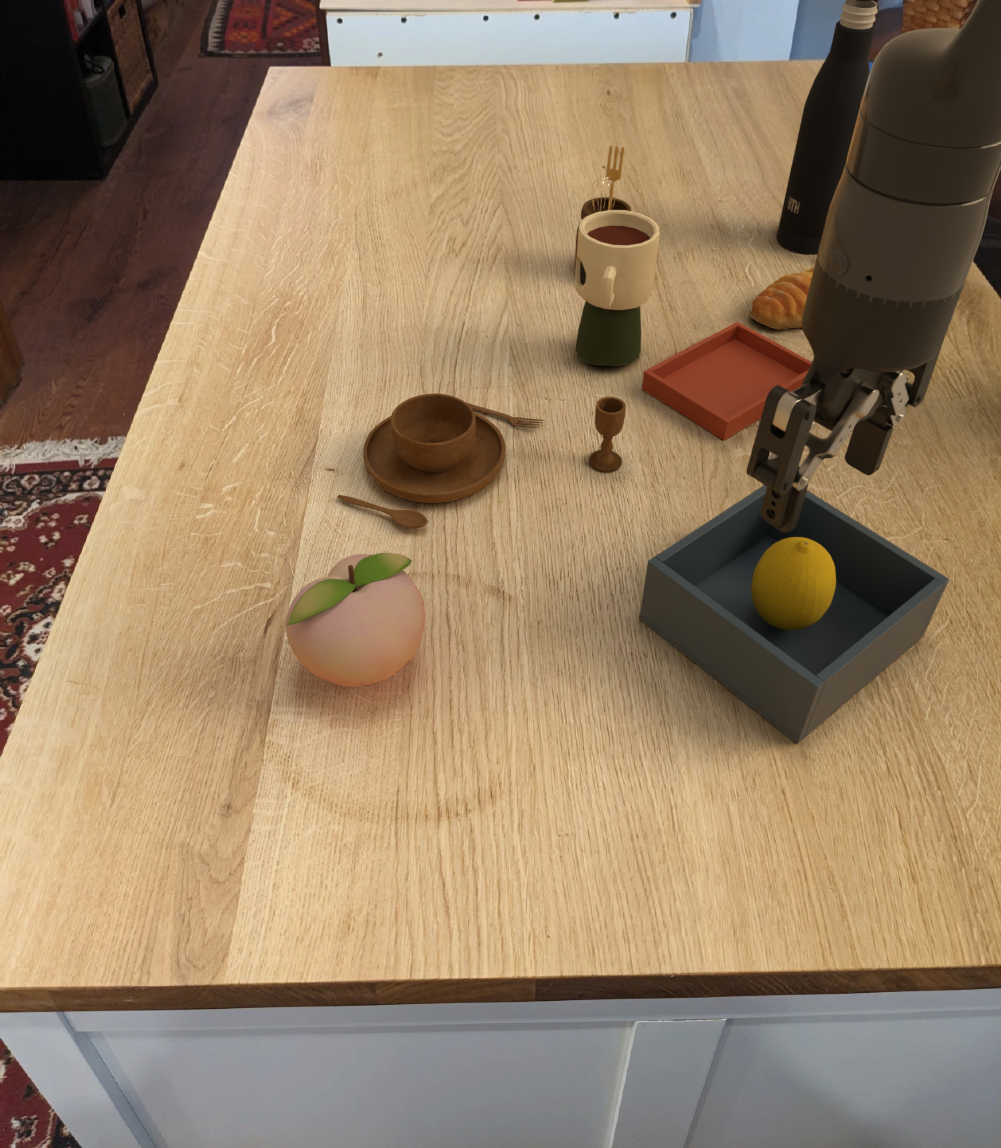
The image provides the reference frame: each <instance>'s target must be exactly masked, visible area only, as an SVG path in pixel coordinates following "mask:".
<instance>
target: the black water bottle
mask: <svg viewBox="0 0 1001 1148" xmlns="http://www.w3.org/2000/svg"><path fill="white" fill-rule="evenodd" d="M841 11H842V13H841V14H840V15H839V19H840V20H838V21H837V22H836V23H835V28H834V30H833V31H834V32H833V35H832V40H831V45H830V50H829V53H828V54H827V56H826V57H825V59H824V61H823V62H822V65H821V67H820V68H819V70H818V72H817V74H816V76H815V78H814V79H813V82H812V84H811V87H810V89H809V92H808V94H807V97H806V99H805V102H804V106H803V110H802V115H801V120H800V124H799V128H798V134H797V138H796V144H795V149H794V151H793V152H794V153H793V157H792V162H791V167H790V171H789V176H788V180H787V185H786V190H785V193H784V194H785V195H784V199H783V204H782V209H781V213H780V218H779V223H778V227H777V232H776V240H777V242H778V244H779V245H780V246H782V247H783V248H785V249H787V250H789V251H791V252H794V253H798V254H804V255H805V254H806V255H817V254H818V250H819V246H820V242H821V238H822V234H823V230H824V226H825V222H826V218H827V215H828V211H829V208H830V204H831V202H832V199H833V196H834V193H835V191H836V188H837V186H838V184H839V181H840V179H841V176H842V174H843V170H844V167H845V164H846V161H847V156H848V152H849V148H850V144H851V140H852V136H853V132H854V128H855V124H856V120H857V117H858V113H859V109H860V105H861V101H862V98H863V94H864V91H865V87H866V84H867V80H868V77H869V73H870V71H871V69H870V59H869V57H870V52H871V48H872V45H873V40H874V37H875V33H876V25H875V24H874V23H875V21H876V15H877V14H878V3H877V2H876V1H875V0H845V1H844V4H843V5H842V6H841Z"/></svg>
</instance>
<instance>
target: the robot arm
mask: <svg viewBox="0 0 1001 1148" xmlns="http://www.w3.org/2000/svg"><path fill="white" fill-rule="evenodd" d="M873 60H874V61H873V62H872V65H871V68H870V73H869V77H868V80H867V84H866V87H865V91H864V94H863V98H862V101H861V105H860V109H859V113H858V117H857V120H856V124H855V128H854V132H853V136H852V140H851V144H850V148H849V152H848V156H847V161H846V164H845V167H844V170H843V174H842V176H841V179H840V181H839V184H838V186H837V188H836V191H835V193H834V196H833V199H832V202H831V204H830V208H829V211H828V215H827V218H826V222H825V226H824V230H823V234H822V238H821V242H820V246H819V250H818V254H816V259H815V263H814V266H813V267H814V271H813V275H812V279H811V283H810V287H809V291H808V295H807V299H806V303H805V307H804V311H803V315H802V332H803V333H804V334H803V335H804V336H805V338H806V340H807V341H808V343H809V346H810V348H811V350H812V353H813V359H812V360H811V362H812V363H811V366H810V368H809V370H808V372H807V374H806V375H805V377H804V379H803V382H802V385H801V387H799V388H797V389H796V390H794V391H792V392H790V391H789V390H787V389H785V388H783V387H781V386H780V385H776V386H775V387H773V388H772V389H771V391H770V392H769V394H768V395H767V398H766V402H765V405H764V409H763V412H762V416H761V418H760V419H759V422H758V423H759V424H758V427H757V430H756V434H755V438H754V442H753V446H752V449H751V452H750V456H749V460H748V463H747V466H746V471H745V473H746V474H747V475H748V476H750V477H751V478H753V479H754V480H756V481H758V482H759V483H761V484H762V485H765V486H767V489H766V493H765V497H764V500H763V505H762V508H761V517H762V518H763V519H764V520H765V521H766V522H767V523H769V524H770V525H772V526H773V527H775V528H777V529H778V530H780V531H781V532H783V533H787V532H789V531H790V530H792V529H793V528H795V527H796V525H797V522H798V518H799V515H800V512H801V508H802V505H803V502H804V498H805V495H806V491H808V487H809V482H810V481H811V480H812V478H813V476H814V475H815V473H816V472H817V470H818V468H819V467H820V465H821V464H822V462H823V461H824V460H825V459H832V458H834V457H836V456H837V454H838V453H839V451H840V450H841V448H842V447H843V445H844V444H845V442H846V441H847V439H848V438H849V436H850V434H851V436H850V439H849V442H848V445H847V448H846V451H845V454H844V460H845V463H846V464H847V465H848V466H850V467H852V468H853V469H855V470H857V472H860V473H862V474H863V475H866V476H872V475H873V474H875V473H876V472H877V471H878V470H880V468H881V465H882V463H883V460H884V457H885V454H886V451H887V448H888V446H889V443H890V440H891V438H892V435H893V431H894V429H895V427H898V426H899V425H900V424H901V423H902V422H903V421H904V420H905V417H906V414H907V407H908V406H910V407H912V408H917V407H918V406H920V404H922V403H923V401H924V400H925V397H926V394H927V391H928V388H929V385H930V382H931V380H932V377H933V373H934V370H935V367H936V365H937V363H938V362H937V361H938V359H939V355H940V353H941V350H942V347H943V343H944V341H945V339H946V335H947V332H948V330H949V328H950V325H951V322H952V319H953V316H954V313H955V311H956V308H957V306H958V303H959V300H960V296H961V294H962V292H963V289H964V286H965V284H966V282H967V278H968V275H969V273H970V271H971V268H972V266H973V262H974V260H975V257H976V254H977V251H978V248H979V245H980V243H981V240H982V237H983V233H984V230H985V226H986V223H987V218H988V213H989V207H990V204H991V199H992V195H993V192H994V189H995V186H996V183H997V181H998V179H999V178H998V177H999V175H1000V172H1001V0H977V1H976V3H975V5H974V8H973V10H972V12H971V13H970V15H969V16H968V18H967V19H966V21H965V22H964V24H963V25H962V26H961V28H953V27H952V28H951V27H932V28H930V27H929V28H919V29H915V30H911V31H910V30H909V31H906V32H904V33H901V34H899V35H897V36H895V37H893V38H892V39H890V40H889V41H888V42H886V43H885V44H884V45H883V47H882V48H881V50H880V51H879V52H878V53H877V54H876V57H875V58H874V59H873ZM904 371H907V372H910V373H911V374H912V375H913V377H914V379H913V382H912V383H911V382H909V381H908V378H907V374H906V372H904ZM816 424H818V425H819V426H821V427H823V428H825V429H827V430H829V431H830V433H829V434H828V436H827V437H824V438H821V437H819V436H817V435H815V434H814V433H812V432H811V431H812V430H813V429H814V428H815V427H816ZM805 447H807V448H808V451H809V452H808V455H807V456H806V457H805V458H804V460H803V462H802V464H801V465H800V463H801V460H802V457H803V454H804V451H805Z"/></svg>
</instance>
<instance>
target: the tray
mask: <svg viewBox="0 0 1001 1148" xmlns="http://www.w3.org/2000/svg"><path fill="white" fill-rule="evenodd" d="M811 363H812V360H810V359H808V358H806V357H804V356H802V355H800V354H798V353H797V352H795V351H793V350H791V349H789V348H788V347H785V345H784V346H783V345H782V344H780V343H778V342H776V341H775V340H772V339H770V338H768V337H767V336H765V335H763V334H761V333H759V332H758V331H756V330H754V329H752V328H751V327H748V326H747V325H745V324H743V323H740V322H739V321H736V322H734V323H732V324H730V325H728V326H726V327H724V328H723V329H721V330H719V331H716V332H714V333H713V334H711V335H709V336H707V337H706V338H705V337H704V339H701V340H700V341H698V342H696V343H694V344H692V345H690V346H689V347H686V348H685V349H682V350H681V351H679V352H677V353H675V354H673V355H671V356H670V357H668V358H666V359H664V360H662V361H659V362H658V363H656V364H654V365H653V366H651V367H649V368H646V369H645V370H644V371H643V375H642V382H641V383H642V384H641V390H642V391H644V392H646V393H647V394H649V395H651V396H652V397H654V398H655V399H657V400H658V401H660V402H662V403H663V404H665V405H666V406H667V407H670V408H671V409H673V410H675V411H676V412H678V413H679V414H680V415H683V416H684V417H685V418H688V419H689V420H691V421H692V422H694V423H695V424H697V425H699V426H701V427H702V428H703V429H705V430H706V431H709V432H710V433H711V434H713V435H715V436H716V437H718V438H719V439H721V440H722V441H726V440H727V439H729V438H731V437H732V436H734V435H736V434H737V433H739V432H740V431H742V430H744V429H745V428H747V427H749V426H750V425H752V424H754V423H755V422H758V420H759V421H760V420H761V416H762V412H763V409H764V405H765V402H766V398H767V395H768V394H769V392H770V391H771V389H772V388H773V387H775V386H776V385H780V386H781V387H783V388H785V389H787V390H789V391H790V392H792V391H794V390H796V389H797V388H799V387H801V385H802V382H803V379H804V377H805V375H806V374H807V372H808V370H809V368H810V366H811Z"/></svg>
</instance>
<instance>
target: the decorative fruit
mask: <svg viewBox="0 0 1001 1148" xmlns="http://www.w3.org/2000/svg"><path fill="white" fill-rule="evenodd" d="M412 562H413V560H412V559H411V558H410V557H407V556H406V555H403V554H400V553H396V552H395V553H394V552H380V553H374V554H370V553H358V554H353V555H348V556H346V557H344V558H342V559H340V560H338V561H337V563H336V564H334V565H333V567H332V568H331V569H330V571H329V572H328V574H327V575H326V576H325V577H321V578H318V579H315V580H312V581H310V582H308V584H305V586H303V587H302V588H301V589H300V590H299V592H298V593H297V594H296V596H295V597H294V598H293V600H292V601H291V603H290V605H289V607H288V610H287V612H286V615H285V616H286V617H285V633H286V638H287V642H288V644H289V647H290V649H291V651H292V654H293V655H294V657H295V658H296V659H297V661H298V662H299V663H300V664H301V665H302V666H303V667H304V668H305V669H306V670H308V671H309V672H310V673H311V674H313V675H314V676H315V677H317V678H320V679H322V680H324V681H327V682H329V683H332V684H335V685H339V686H344V687H363V686H369V685H373V684H376V683H380V682H383V681H385V680H387V679H389V678H391V677H392V676H393V675H395V674H397V673H398V672H399V671H400V670H402V669H403V668H404V667H405V666H406V665H407V664H408V663H409V662H410V661H411V660H412V658H413V657H414V656H415V654H416V653H417V650H418V649H419V647H420V644H421V642H422V638H423V635H424V631H425V626H426V607H425V602H424V599H423V595H422V593H421V591H420V589H419V587H418V586H417V585H416V584H415V582H414V581H413V580H412V578H411V577H410V576H409V574H407V572H406V571H405V569H407V568H408V567H409V566H410V565H411V564H412Z"/></svg>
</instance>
